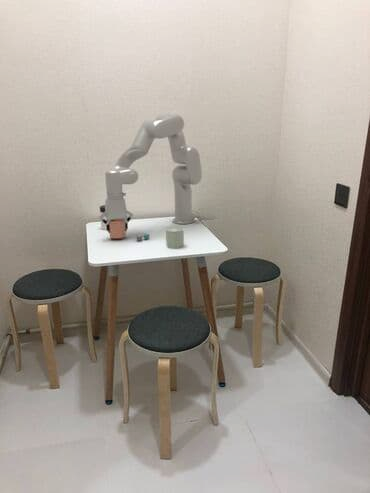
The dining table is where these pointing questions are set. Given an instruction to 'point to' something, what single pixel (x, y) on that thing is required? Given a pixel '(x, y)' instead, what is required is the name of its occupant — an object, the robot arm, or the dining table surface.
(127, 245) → the dining table surface
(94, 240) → the dining table surface
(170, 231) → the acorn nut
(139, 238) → the marble
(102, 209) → the jar
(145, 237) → the marble
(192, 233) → the dining table surface
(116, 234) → the peach octagonal canister
